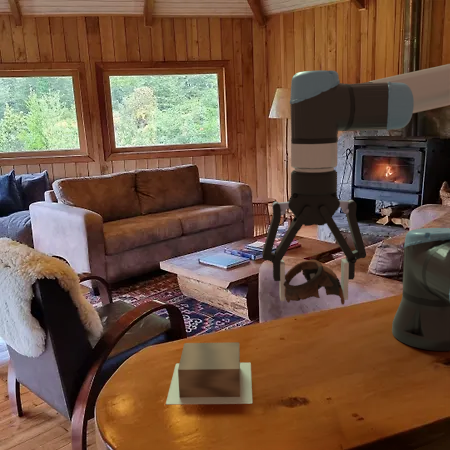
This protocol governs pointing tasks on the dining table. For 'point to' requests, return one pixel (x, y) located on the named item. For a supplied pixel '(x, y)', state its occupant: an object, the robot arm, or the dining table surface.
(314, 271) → the pottery mug
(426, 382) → the dining table surface
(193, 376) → the walnut block
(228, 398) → the build board
